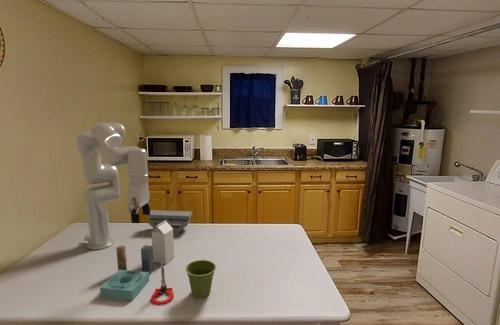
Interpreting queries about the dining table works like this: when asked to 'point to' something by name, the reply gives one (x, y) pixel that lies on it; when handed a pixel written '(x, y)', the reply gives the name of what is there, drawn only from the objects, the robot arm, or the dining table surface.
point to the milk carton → (163, 243)
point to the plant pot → (200, 277)
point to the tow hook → (162, 290)
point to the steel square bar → (147, 259)
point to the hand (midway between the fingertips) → (141, 218)
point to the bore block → (124, 285)
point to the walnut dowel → (121, 258)
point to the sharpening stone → (170, 219)
